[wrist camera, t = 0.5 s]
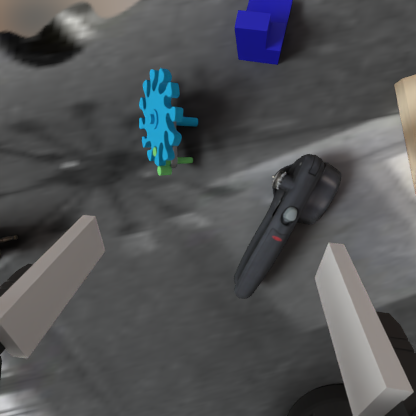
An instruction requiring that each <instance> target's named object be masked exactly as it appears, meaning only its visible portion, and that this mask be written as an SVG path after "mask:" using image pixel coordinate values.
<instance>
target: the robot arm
mask: <svg viewBox="0 0 416 416" xmlns="http://www.w3.org/2000/svg"><path fill="white" fill-rule="evenodd" d="M104 252H105V248H104V245H103V241H102V238H101V234H100V230H99V227H98V223H97V220H96V216H88V215H83V216H82V217H81V218H80V219H79V220H78V221H77V222H76V223H75V224H74V225H73V226H72V227H71V228H70V229H69V230H68V231H67V232H66V233H65V234H64V235H63V236H62V237H61V238H60V239H59V240H58V241H57V242H56V243H55V244H54V245H53V246H52V247H51V248H50V249H49V250H48V251H47V252H46V253H44V254H43V255H42V256H41V257H40V258H39V259H38V260H37V261H36V262H35V263H34V264H27V265H26V266H24V267H22V268H21V269H19V270H17V271H16V272H15V273H14V274H13V275H12V276H11V277H10V278H9V279H8V280H7V282H5V283H3V284H2V285H1V286H0V354H1V353H2V352H3V351H4V350H5V349H6V350H7V351H8V352H9V354H10V355H11V356H15V357H21V358H26V359H28V357H29V356H30V355H31V353H32V352H33V350H34V349H35V348H36V346H37V345H38V344H39V342H40V341H41V339H42V338H43V337H44V335H45V334H46V332H47V331H48V330H49V328H50V327H51V326H52V324H53V323H54V321H55V320H56V319H57V317H58V316H59V314H60V313H61V312H62V310H63V309H64V307H65V306H66V305H67V303H68V302H69V301H70V299H71V298H72V296H73V295H74V294H75V292H76V291H77V289H78V288H79V287H80V285H81V284H82V283H83V281H84V280H85V278H86V277H87V276H88V274H89V273H90V271H91V270H92V269H93V267H94V266H95V264H96V263H97V262H98V260H99V259H100V258H101V256H102V255H103V253H104ZM315 281H316V284H317V288H318V291H319V295H320V299H321V302H322V306H323V310H324V313H325V317H326V320H327V324H328V328H329V331H330V335H331V338H332V342H333V346H334V349H335V353H336V356H337V360H338V364H339V367H340V371H341V374H342V378H343V382H344V385H330V386H325V387H321V388H318V389H315V390H313V391H311V392H309V393H307V394H305V395H304V396H303V397H301V398H300V399H299V400H298V401H297V402H296V403H295V404H294V405H293V407H292V408H291V410H290V412H289V414H288V416H416V353H414V349H413V348H412V346H411V344H410V342H408V338H407V336H406V335H405V333H404V331H403V329H402V327H401V326H400V324H399V323H398V322H397V321H396V320H395V319H394V318H393V317H392V316H391V315H390V314H389V313H382V312H376V311H375V309H374V307H373V305H372V303H371V301H370V298H369V296H368V294H367V292H366V290H365V288H364V286H363V284H362V282H361V279H360V277H359V275H358V273H357V271H356V269H355V267H354V265H353V263H352V260H351V258H350V256H349V254H348V252H347V250H346V248H345V246H344V244H337V243H328V246H327V248H326V251H325V253H324V256H323V258H322V261H321V263H320V266H319V268H318V271H317V273H316V276H315ZM1 365H2V360H1V356H0V378H1Z"/></svg>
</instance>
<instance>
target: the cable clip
mask: <svg viewBox="0 0 416 416" xmlns="http://www.w3.org/2000/svg"><path fill="white" fill-rule="evenodd" d="M292 1H293V0H249V3H248V7H247V10H246V11H241V10H238V14H237V19H236V24H235V34H236V42H237V50H238V59H239V60H246V61H254V62H261V63H269V64H276V65H278V61H279V57H280V52H281V48H282V44H283V40H284V35H285V31H286V27H287V23H288V19H289V14H290V10H291V6H292Z"/></svg>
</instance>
